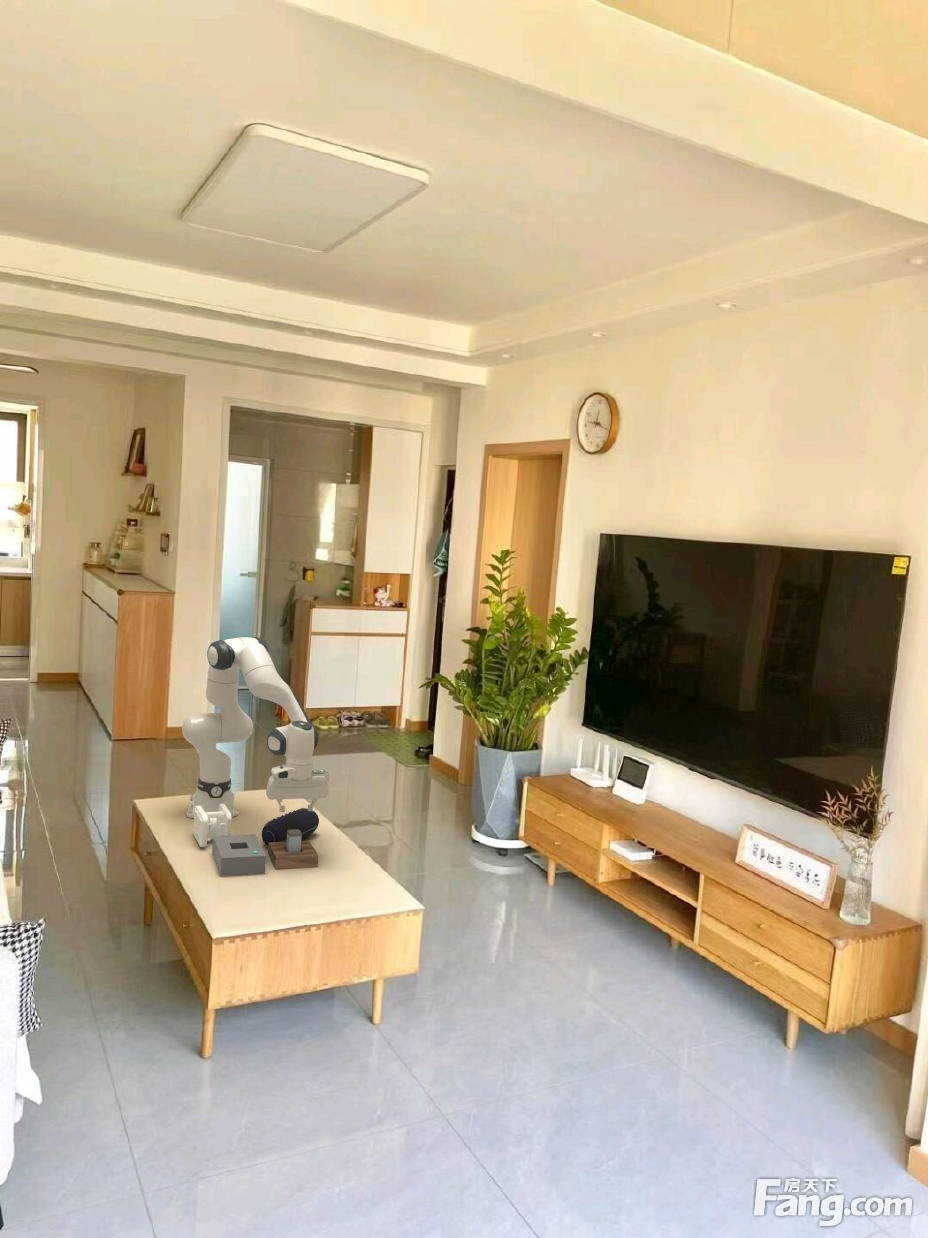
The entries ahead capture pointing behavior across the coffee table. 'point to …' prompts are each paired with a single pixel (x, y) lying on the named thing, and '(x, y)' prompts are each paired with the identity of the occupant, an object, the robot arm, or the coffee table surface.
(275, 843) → the square wooden frame
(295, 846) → the plug
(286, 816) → the portable speaker
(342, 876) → the coffee table surface
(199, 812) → the cable organizer
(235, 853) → the port box
